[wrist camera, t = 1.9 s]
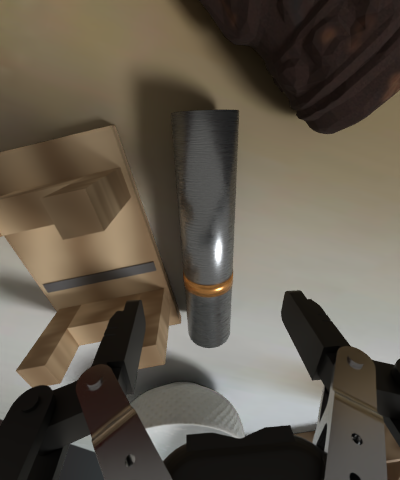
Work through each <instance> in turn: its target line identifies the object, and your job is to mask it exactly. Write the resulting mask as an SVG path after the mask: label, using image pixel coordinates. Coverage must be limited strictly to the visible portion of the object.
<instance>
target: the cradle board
mask: <svg viewBox="0 0 400 480" xmlns="http://www.w3.org/2000/svg"><path fill="white" fill-rule="evenodd" d="M1 236H5V238H6V239H7V241H8V242H9V244H10V245H11V246H12V248H13V249H14V251H15V252H16V254H17V255H18V257H19V258H20V259H21V261H22V262H23V264H24V265H25V267H26V268H27V269H28V271H29V272H30V274H31V275H32V277H33V278H34V280H35V281H36V282H37V284H38V285H39V287H40V288H41V290H42V291H43V292H44V294H45V295H46V297H47V298H48V300H49V301H50V303H51V304H52V305H53V307H54V308H55V310H56V311H57V313H56V314H55V316H54V317H53V319H52V320H51V322H50V323H49V324H48V326H47V327H46V329H45V330H44V332H43V333H42V334H41V336H40V337H39V339H38V340H37V341H36V343H35V344H34V346H33V347H32V349H31V350H30V351H29V353H28V354H27V356H26V357H25V359H24V360H23V361H22V363H21V364H20V366H19V367H18V368H17V370H16V371H17V372H18V374H19V375H20V376H21V377H22V378H23V379H24V380H25V381H26V382H27V383H28V384H29V385H30V386H31V387H32V388H33V387H35V386H39V385H46V386H48V385H54V384H59V383H61V381H62V379H63V377H64V375H65V373H66V371H67V369H68V367H69V365H70V363H71V361H72V359H73V357H74V355H75V353H76V351H77V349H78V347H79V346H80V345H85V344H90V343H96V342H101V341H102V338H103V336H104V333H105V330H106V329H107V325H108V322H109V320H110V318H111V317H112V316H113V315H114V314H115V312H116V311H123V310H124V307H125V304H126V301H127V300H142V304H143V309H144V315H145V321H146V329H145V335H144V341H143V346H142V351H141V356H140V362H139V367H138V369H142V368H148V367H153V366H159V365H164V364H165V358H166V348H167V338H168V328H169V326H170V325H175V324H180V323H181V315H180V312H179V309H178V306H177V303H176V300H175V297H174V295H173V292H172V289H171V286H170V283H169V280H168V277H167V274H166V271H165V269H164V266H163V263H162V260H161V257H160V254H159V251H158V248H157V245H156V242H155V240H154V237H153V234H152V231H151V228H150V225H149V222H148V219H147V216H146V213H145V211H144V208H143V205H142V202H141V199H140V196H139V193H138V190H137V187H136V184H135V182H134V179H133V176H132V173H131V170H130V167H129V164H128V161H127V158H126V155H125V153H124V150H123V147H122V144H121V141H120V138H119V135H118V132H117V129H116V126H115V125H110V126H106V127H102V128H98V129H94V130H90V131H86V132H81V133H77V134H73V135H69V136H65V137H61V138H57V139H53V140H48V141H44V142H40V143H36V144H32V145H28V146H24V147H20V148H15V149H11V150H7V151H3V152H0V237H1Z"/></svg>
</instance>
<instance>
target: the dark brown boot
mask: <svg viewBox="0 0 400 480" xmlns="http://www.w3.org/2000/svg"><path fill="white" fill-rule="evenodd" d="M199 1H200V2H201V3H202V5H203V6H204V7H205V9H206V10H207V11H208V13H209V14H210V16H211V17H212V18H213V20H214V21H215V23H216V24H217V26H218V27H219V29H220V30H221V32H222V33H223V35H224V36H225V37H226V38H227V39H228V40H229V41H231V42H232V43H233V44H235V45H248V46H251V47H253V48H254V49H255V50H256V51H257V52H258V54H259V55H260V56H261V57H262V58H263V60H264V61H265V65H266V69H267V70H268V72H269V73H270V74H271V75H272V76H273V79H274V83H275V84H276V85H277V87H278V88H279V89H280V90H281V92H284V93H285V94H286V96H287V97H288V99H289V104H290V106H291V108H292V109H293V110H296V111H297V113H296V115H297V117H298V118H299V119H302V120H304V121H306V123H307V124H308V126H309V127H310V128H311V129H313V130H314V131H316V132H318V133H323V134H333V133H335V132H338V131H340V130H342V129H345V128H347V127H349V126H352V125H354V124H356V123H358V122H359V121H361V120H362V119H364V118H366V117H367V116H368V115H370V114H371V113H372V112H373V111H375V110H376V109H377V108H378V107H380V106H381V105H382V104H383V103H385V102H386V101H387V100H388V99H390V98H391V97H392V96H393V95H394V94H396V93H397V92H398V91H399V90H400V0H199Z"/></svg>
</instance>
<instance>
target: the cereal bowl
mask: <svg viewBox="0 0 400 480" xmlns="http://www.w3.org/2000/svg"><path fill="white" fill-rule="evenodd" d="M130 405H131V407H133V408H134V409H135V411H136V412H137V414H138V416H139V418H140V420H141V422H142V424H143V425H144V427H145V429H146V431H147V433H148V435H149V437H150V439H151V440H152V442H153V444H154V446H155V448H156V450H157V452H158V453H159V455H160V457H161V459H162V461H164V459H165V458H166V457H167V456H168V455H169V454H170V453H172V452H173V451H174V450H175V449H177V448H178V447H180V446H182V445H184V444H186V435H189V434H200V433H211V432H213V433H217V434H221V435H226V436H230V437H234V438H243V437H245V435H244V430H243V426H242V423H241V420H240V418H239V415H238V413H237V412H236V410H235V408H234V407H233V405H232V404H231V403H230V402H229V401H228V400H227V399H226V398H225V397H223V396H222V395H221V394H219V393H218V392H216V391H215V390H212V389H210V388H207V387H203V386H200V385H198V384H195V383H192V382H174V383H170V384H167V385H164V386H160V387H156V388H154V389H151V390H149V391H147V392H145V393H143V394H141V395H140V396H138V397H137V398H136V399H135V400H134V401H133V402H132V403H130Z"/></svg>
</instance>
